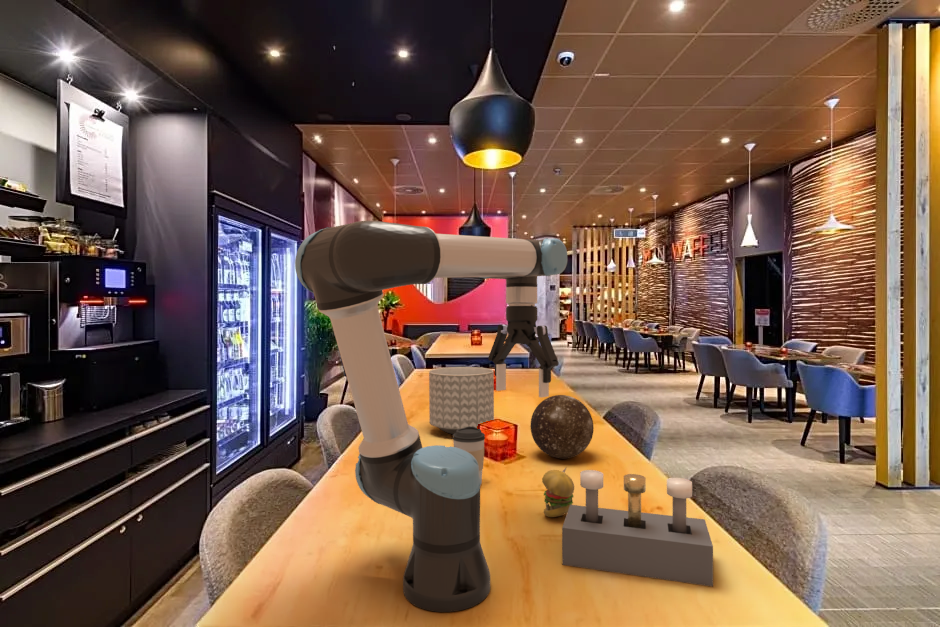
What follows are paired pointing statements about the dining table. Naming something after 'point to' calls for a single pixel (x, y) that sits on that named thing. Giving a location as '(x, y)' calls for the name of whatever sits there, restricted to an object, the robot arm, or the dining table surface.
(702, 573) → the mount block
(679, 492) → the knob
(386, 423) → the robot arm
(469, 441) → the coffee cup
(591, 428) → the decorative sphere
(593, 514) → the knob
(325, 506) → the dining table surface
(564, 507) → the hamburger
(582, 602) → the dining table surface
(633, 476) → the amber round-headed peg
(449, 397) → the planter
